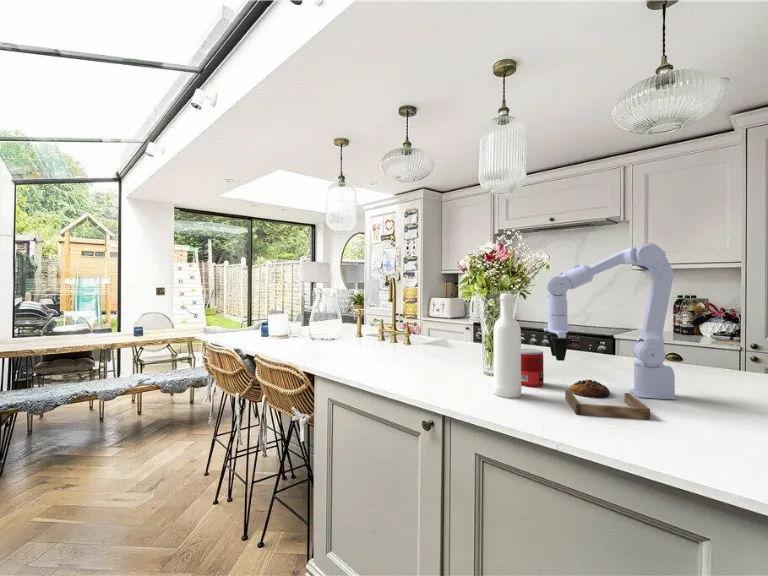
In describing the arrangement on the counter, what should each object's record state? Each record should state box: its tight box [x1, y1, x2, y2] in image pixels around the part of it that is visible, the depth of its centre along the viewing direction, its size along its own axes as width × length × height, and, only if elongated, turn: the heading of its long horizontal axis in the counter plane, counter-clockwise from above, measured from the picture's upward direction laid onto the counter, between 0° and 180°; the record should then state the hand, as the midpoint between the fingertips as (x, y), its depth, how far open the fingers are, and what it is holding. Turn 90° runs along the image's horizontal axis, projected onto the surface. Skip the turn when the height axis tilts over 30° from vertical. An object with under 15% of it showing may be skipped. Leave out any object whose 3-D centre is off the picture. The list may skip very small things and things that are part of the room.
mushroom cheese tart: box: [568, 379, 611, 399], centre depth 119 cm, size 11×11×5 cm
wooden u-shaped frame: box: [564, 389, 651, 421], centre depth 105 cm, size 16×14×2 cm
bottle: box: [493, 293, 522, 399], centre depth 118 cm, size 8×8×30 cm
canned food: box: [521, 348, 545, 388], centre depth 130 cm, size 8×8×11 cm
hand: (557, 358), depth 125 cm, fingers open, 7 cm apart
